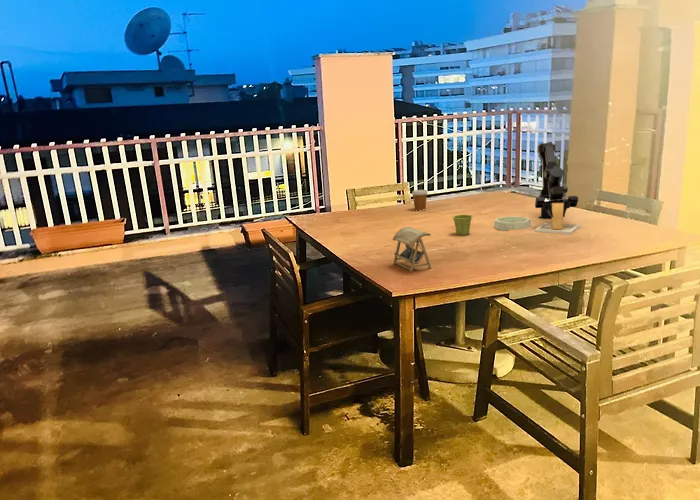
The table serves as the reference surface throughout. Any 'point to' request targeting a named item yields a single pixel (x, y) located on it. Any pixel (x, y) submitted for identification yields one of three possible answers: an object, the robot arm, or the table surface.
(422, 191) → the disposable coffee cup
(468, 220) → the plant pot
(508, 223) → the sage bowl
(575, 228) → the parts tray
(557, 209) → the orange tapered cylinder
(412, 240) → the swing bench
